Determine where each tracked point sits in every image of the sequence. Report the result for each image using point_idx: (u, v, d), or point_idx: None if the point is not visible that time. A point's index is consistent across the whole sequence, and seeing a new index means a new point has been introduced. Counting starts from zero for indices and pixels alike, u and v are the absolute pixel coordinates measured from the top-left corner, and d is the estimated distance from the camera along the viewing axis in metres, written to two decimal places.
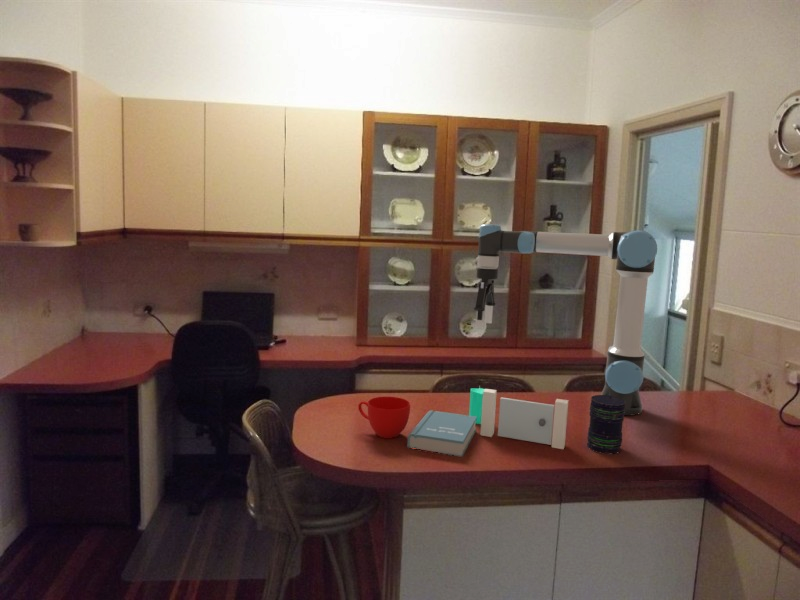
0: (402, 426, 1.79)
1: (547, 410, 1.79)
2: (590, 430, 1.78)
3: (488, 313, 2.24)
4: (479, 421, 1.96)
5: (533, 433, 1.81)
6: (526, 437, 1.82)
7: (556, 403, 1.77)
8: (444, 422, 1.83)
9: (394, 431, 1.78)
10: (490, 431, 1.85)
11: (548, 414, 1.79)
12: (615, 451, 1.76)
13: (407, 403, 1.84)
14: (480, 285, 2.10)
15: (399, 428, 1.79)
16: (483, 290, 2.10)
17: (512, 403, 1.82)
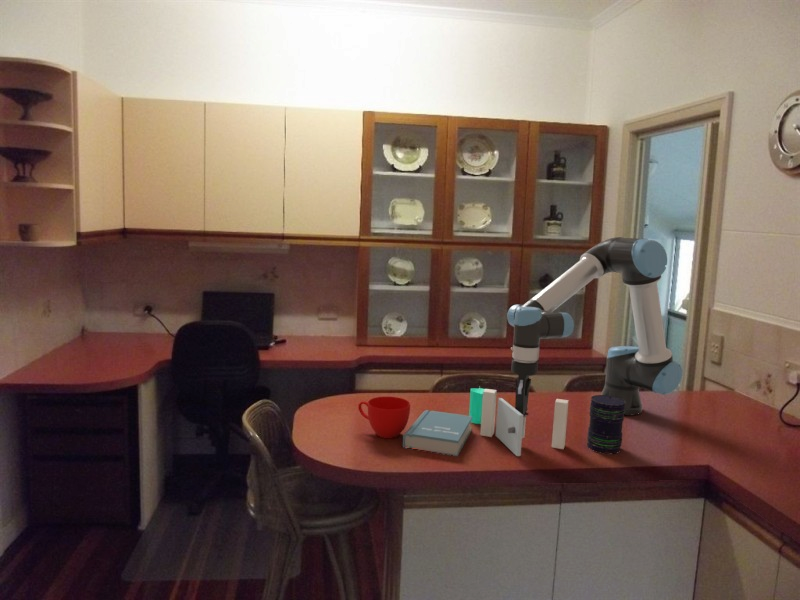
0: (402, 426, 1.79)
1: (516, 418, 1.70)
2: (590, 430, 1.78)
3: None
4: (479, 421, 1.96)
5: (509, 440, 1.75)
6: (506, 443, 1.77)
7: (556, 403, 1.77)
8: (439, 421, 1.83)
9: (394, 432, 1.78)
10: (490, 431, 1.85)
11: (516, 423, 1.70)
12: (615, 451, 1.76)
13: (407, 403, 1.84)
14: (517, 392, 1.72)
15: (399, 428, 1.79)
16: (521, 397, 1.72)
17: (502, 405, 1.80)
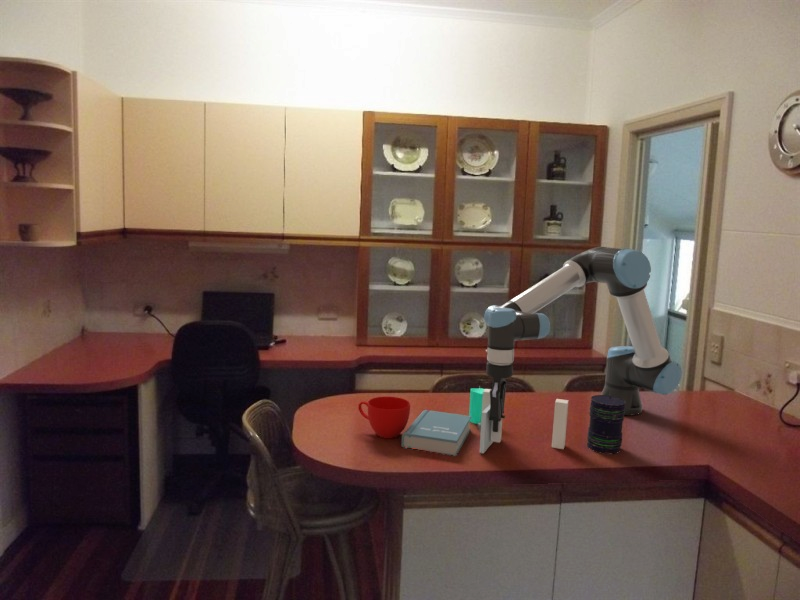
0: (402, 426, 1.79)
1: None
2: (590, 430, 1.78)
3: None
4: (479, 421, 1.96)
5: None
6: None
7: (556, 403, 1.77)
8: (438, 421, 1.83)
9: (394, 431, 1.78)
10: None
11: None
12: (615, 451, 1.76)
13: (407, 403, 1.84)
14: (492, 395, 1.68)
15: (399, 428, 1.79)
16: (496, 400, 1.68)
17: None
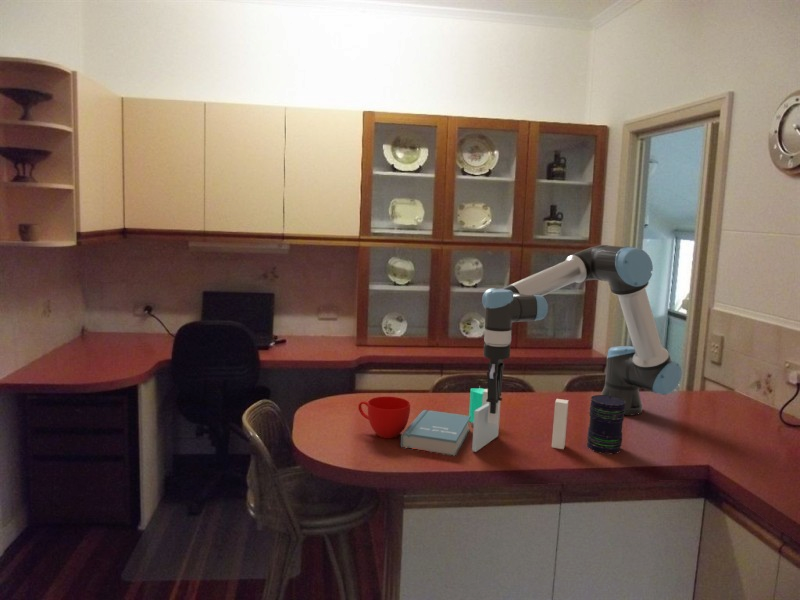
0: (402, 426, 1.79)
1: None
2: (590, 430, 1.78)
3: None
4: None
5: None
6: None
7: (556, 403, 1.77)
8: (437, 421, 1.83)
9: (394, 431, 1.78)
10: None
11: None
12: (615, 451, 1.76)
13: (407, 403, 1.84)
14: (489, 376, 1.67)
15: (399, 428, 1.79)
16: (493, 381, 1.68)
17: None
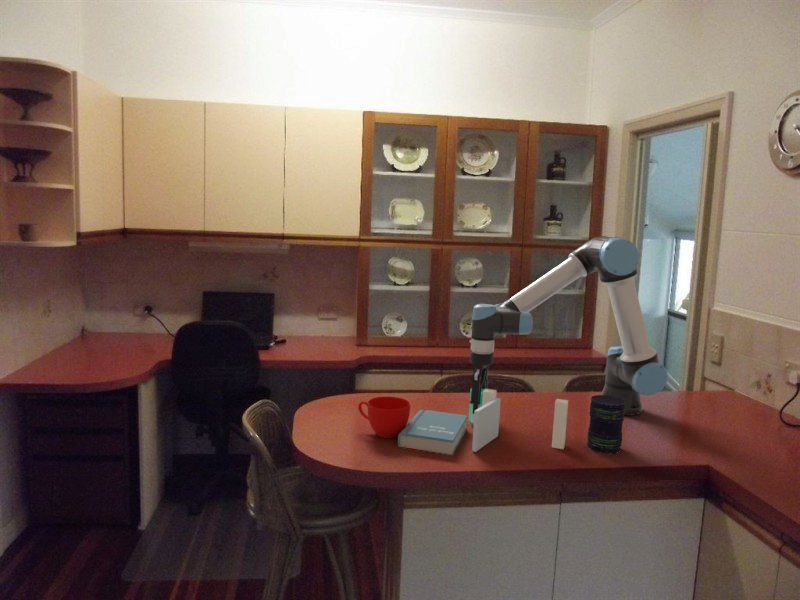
0: (402, 426, 1.79)
1: None
2: (590, 430, 1.78)
3: None
4: None
5: None
6: None
7: (556, 403, 1.77)
8: (434, 421, 1.84)
9: (394, 431, 1.78)
10: None
11: None
12: (615, 451, 1.76)
13: (407, 403, 1.84)
14: (473, 377, 1.91)
15: (399, 428, 1.79)
16: (477, 383, 1.91)
17: None
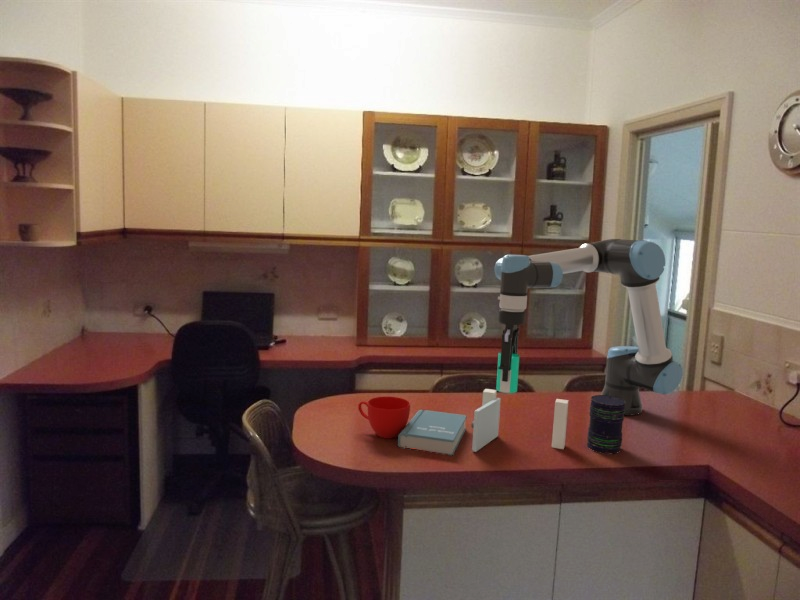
0: (402, 426, 1.79)
1: None
2: (590, 430, 1.78)
3: None
4: None
5: None
6: None
7: (556, 403, 1.77)
8: (434, 421, 1.84)
9: (394, 431, 1.78)
10: None
11: None
12: (615, 451, 1.76)
13: (407, 403, 1.84)
14: (504, 338, 1.65)
15: (399, 428, 1.79)
16: (508, 344, 1.65)
17: None
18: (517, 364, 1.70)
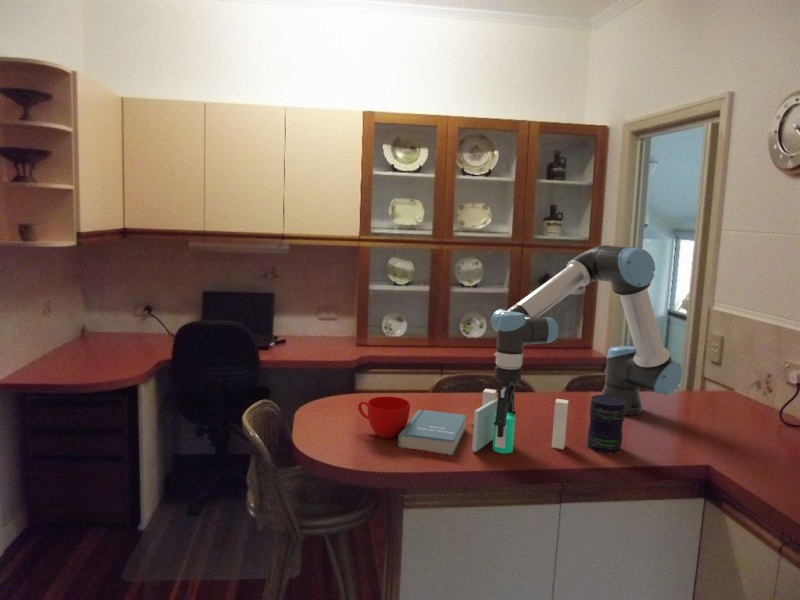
0: (402, 426, 1.79)
1: None
2: (590, 430, 1.78)
3: None
4: (504, 451, 1.72)
5: None
6: None
7: (556, 403, 1.77)
8: (434, 421, 1.84)
9: (394, 431, 1.78)
10: None
11: None
12: (615, 451, 1.76)
13: (407, 403, 1.84)
14: (500, 394, 1.67)
15: (399, 428, 1.79)
16: (504, 401, 1.67)
17: None
18: (513, 425, 1.72)
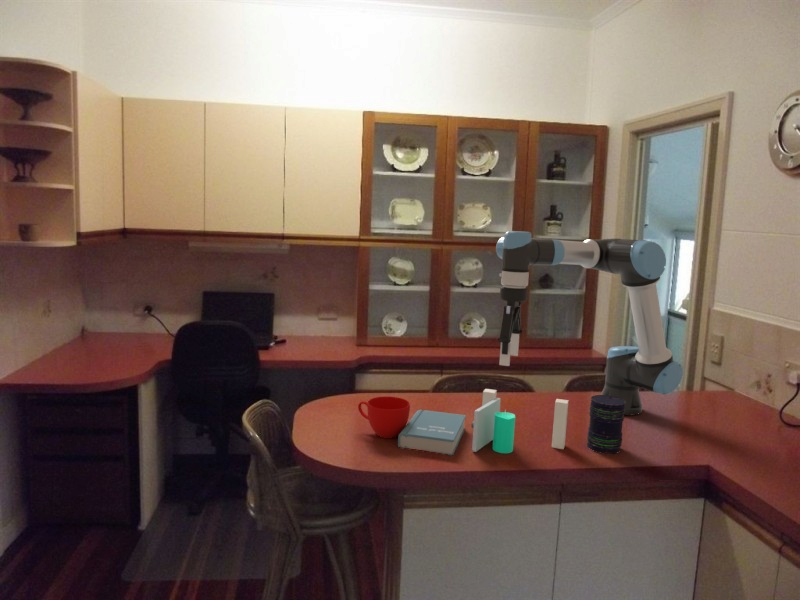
0: (402, 426, 1.79)
1: None
2: (590, 430, 1.78)
3: (513, 343, 1.77)
4: (504, 451, 1.72)
5: None
6: None
7: (556, 403, 1.77)
8: (434, 421, 1.84)
9: (394, 431, 1.78)
10: None
11: None
12: (615, 451, 1.76)
13: (407, 403, 1.84)
14: (505, 309, 1.63)
15: (399, 428, 1.79)
16: (509, 316, 1.63)
17: None
18: (513, 425, 1.72)
